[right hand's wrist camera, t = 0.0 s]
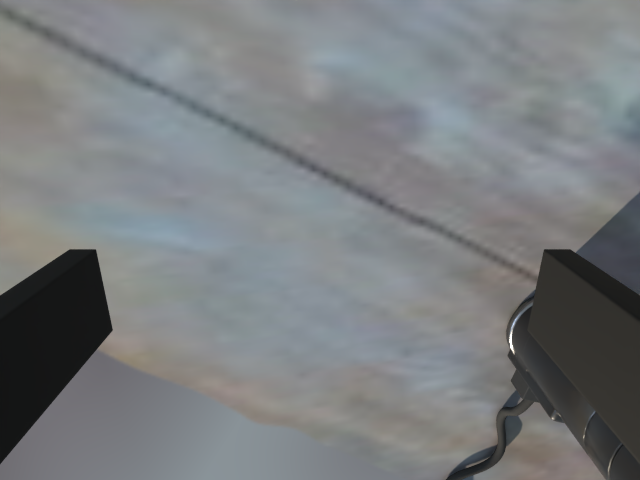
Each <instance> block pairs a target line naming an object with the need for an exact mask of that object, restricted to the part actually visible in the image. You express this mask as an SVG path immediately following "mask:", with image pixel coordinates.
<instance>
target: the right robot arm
mask: <svg viewBox="0 0 640 480" xmlns="http://www.w3.org/2000/svg"><path fill="white" fill-rule="evenodd" d="M112 330H113V329H112V324H111V320H110V315H109V310H108V305H107V300H106V296H105V291H104V286H103V281H102V276H101V272H100V267H99V262H98V257H97V252H96V249H70V250H68V251H67V252H65V253H64V254H62V255H61V256H59V257H58V258H56V259H55V260H53V261H52V262H50V263H49V264H47V265H46V266H44V267H43V268H41V269H40V270H38V271H37V272H35V273H34V274H32V275H31V276H29V277H28V278H26V279H25V280H23V281H21V282H20V283H18V284H17V285H15V286H14V287H12V288H11V289H9V290H8V291H6V292H5V293H3V294H2V295H0V464H1V463H2V461H3V460H4V459H5V458H6V457H7V455H8V454H9V453H10V452H11V451H12V449H13V448H14V447H15V446H16V445H17V443H18V442H19V441H20V440H21V439H22V437H23V436H24V435H25V434H26V433H27V432H28V430H29V429H30V428H31V427H32V426H33V424H34V423H35V422H36V421H37V420H38V419H39V417H40V416H41V415H42V414H43V412H44V411H45V410H46V409H47V408H48V407H49V405H50V404H51V403H52V402H53V401H54V399H55V398H56V397H57V396H58V395H59V393H60V392H61V391H62V390H63V389H64V388H65V386H66V385H67V384H68V383H69V382H70V380H71V379H72V378H73V377H74V376H75V374H76V373H77V372H78V371H79V370H80V369H81V367H82V366H83V365H84V364H85V363H86V361H87V360H88V359H89V358H90V357H91V355H92V354H93V353H94V352H95V351H96V349H97V348H98V347H99V346H100V345H101V344H102V342H103V341H104V340H105V339H106V338H107V336H108V335H109V334H110V333H111V332H112ZM527 330H528V332H529V333H530V334H531V335H532V336H533V338H534V339H535V340H536V341H537V342H538V344H539V345H540V346H541V347H542V348H543V349H544V351H545V352H546V353H547V354H548V355H549V357H550V358H551V359H552V360H553V361H554V363H555V364H556V365H557V366H558V367H559V369H560V370H561V371H562V372H563V373H564V374H565V376H566V377H567V378H568V379H569V380H570V382H571V383H572V384H573V385H574V386H575V388H576V389H577V390H578V391H579V392H580V394H581V395H582V396H583V397H584V398H585V399H586V401H587V402H588V403H589V404H590V405H591V407H592V408H593V409H594V410H595V411H596V413H597V414H598V415H599V416H600V417H601V419H602V420H603V421H604V422H605V423H606V424H607V426H608V427H609V428H610V429H611V430H612V432H613V433H614V434H615V435H616V436H617V438H618V439H619V440H620V441H621V442H622V443H623V445H624V446H625V447H626V448H627V449H628V451H629V452H630V453H631V454H632V455H633V457H634V458H635V459H636V460H637V461H638V463H639V464H640V295H638V294H637V293H635V292H634V291H632V290H631V289H629V288H628V287H626V286H625V285H623V284H622V283H620V282H619V281H617V280H615V279H614V278H612V277H611V276H609V275H608V274H606V273H605V272H603V271H602V270H600V269H599V268H597V267H596V266H594V265H593V264H591V263H590V262H588V261H587V260H585V259H584V258H582V257H581V256H579V255H578V254H576V253H575V252H573V251H572V250H570V249H544V252H543V257H542V262H541V267H540V272H539V276H538V281H537V286H536V291H535V296H534V300H533V305H532V310H531V315H530V320H529V324H528V329H527Z"/></svg>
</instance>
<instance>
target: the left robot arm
mask: <svg viewBox="0 0 640 480" xmlns="http://www.w3.org/2000/svg"><path fill="white" fill-rule="evenodd" d="M533 300H534V297H532V298H530V299H529V300H527V301H526V302H524V303H523V304H522V305H521V306H520V307H519V308H518V309H517V310H516V311H515V312H514V314H513V315H512V317H511V319H510V321H509V323H508V327H507V333H506V336H507V342H508V345H509V347H510V352H509V354H508V357H509V359H510V360H511V362H512V363H513V365H514V366H515V368H516V371H515V373H514V375H513V377H512V379H511V382H512V384H513V385H514V387H515V388H516V390H517V391H518V393H519V395H520V396H521V398H522V399H523V400H522V401H521V402H520V403H519V404H518V405H517V406H515V407H504V408H502V409H501V410H500V411H499V413H498V415H497V433H498V445H497V448H496V451H495V452H494V454H493V455H492V456H491V457H490V458H488V459H487V460H485V461H484V462H481V463H479V464H477V465H474V466H471V467H469V468H466V469H463V470H461V471H458V472H456V473H454V474H453V475H451V476H450V477H448V478H447V479H446V480H462V479H464V478H466V477H469V476H472V475H475V474H478V473H480V472H483V471H485V470H487V469H489V468H491V467H492V466H494V465H495V464H496V463H497V462H498V461H499V460H500V459H501V458H502V456H503V454H504V452H505V448H506V433H505V419H506V417H507V416H508V415H509V416H518V415H520V414H522V413H523V412H524V411H526V410H527V409H528V408H529V407H530V406H531V405H532V404H533V403H534V402H539V403H540V404H541V405H542V407H543V408H544V410H545V411H546V413H547V414H548V416H549V417H550V418H551V419H552V420H554V421H556V422H561V423H565V424H566V426H567V427H568V428H569V430H570V431H571V432H572V434H573V435H574V437H575V438H576V439H577V441H578V442H579V443H580V445H581V446H582V448H583V449H584V450H585V452H586V453H587V454H588V456H589V457H590V459H591V460H592V461H593V463H594V464H595V465H596V467H597V468H598V470H599V471H600V472H601V474H602V475H603V477H604V478H605V479H606V480H640V464H639V463H638V461H637V460H636V459H635V458H634V457H633V455H632V454H631V453H630V452H629V451H628V449H627V448H626V447H625V446H624V445H623V443H622V442H621V441H620V440H619V439H618V438H617V436H616V435H615V434H614V433H613V432H612V430H611V429H610V428H609V427H608V426H607V424H606V423H605V422H604V421H603V420H602V419H601V417H600V416H599V415H598V414H597V413H596V411H595V410H594V409H593V408H592V407H591V405H590V404H589V403H588V402H587V401H586V399H585V398H584V397H583V396H582V395H581V394H580V392H579V391H578V390H577V389H576V388H575V386H574V385H573V384H572V383H571V382H570V380H569V379H568V378H567V377H566V376H565V374H564V373H563V372H562V371H561V370H560V369H559V367H558V366H557V365H556V364H555V363H554V361H553V360H552V359H551V358H550V357H549V355H548V354H547V353H546V352H545V351H544V349H543V348H542V347H541V346H540V345H539V344H538V342H537V341H536V340H535V339H534V338H533V336H532V335H531V334H530V333H529V332H528V330H527V329H528V324H529V320H530V315H531V310H532V305H533Z"/></svg>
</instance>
